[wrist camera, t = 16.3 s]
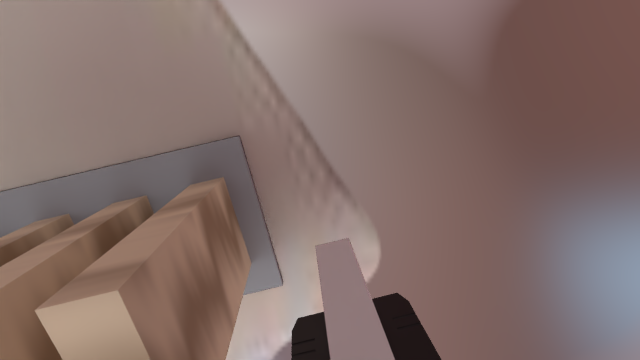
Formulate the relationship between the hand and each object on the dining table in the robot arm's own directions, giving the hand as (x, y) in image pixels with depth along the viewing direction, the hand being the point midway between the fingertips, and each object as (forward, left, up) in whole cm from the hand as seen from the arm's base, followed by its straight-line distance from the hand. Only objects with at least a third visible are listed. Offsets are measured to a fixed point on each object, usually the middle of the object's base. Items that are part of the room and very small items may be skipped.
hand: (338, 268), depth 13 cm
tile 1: (0, -8, -9) cm, 12 cm away
